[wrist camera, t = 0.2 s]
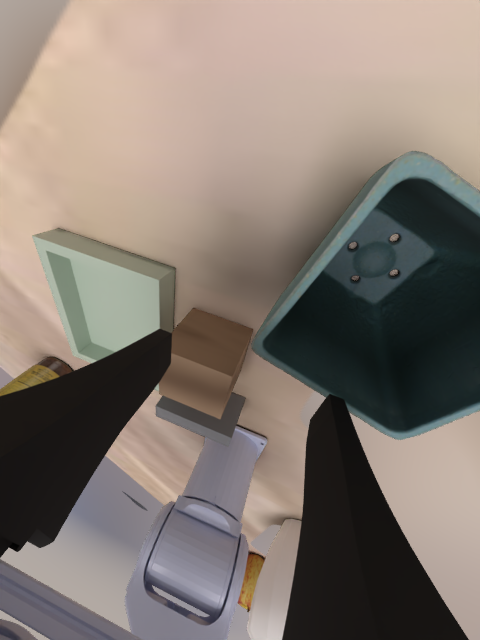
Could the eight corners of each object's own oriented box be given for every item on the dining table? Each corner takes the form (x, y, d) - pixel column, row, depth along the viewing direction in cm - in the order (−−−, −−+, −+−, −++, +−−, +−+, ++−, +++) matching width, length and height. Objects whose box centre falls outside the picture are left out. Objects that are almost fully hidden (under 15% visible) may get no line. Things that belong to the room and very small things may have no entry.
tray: (171, 376, 30) (160, 391, 28) (89, 342, 31) (73, 355, 29) (175, 268, 21) (159, 280, 19) (58, 228, 22) (32, 235, 20)
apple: (237, 544, 64) (224, 599, 56) (270, 556, 61) (261, 615, 53) (245, 556, 69) (234, 608, 61) (276, 567, 65) (268, 624, 58)
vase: (360, 553, 43) (384, 891, 23) (291, 542, 51) (266, 788, 31) (320, 512, 38) (309, 884, 19) (252, 507, 46) (194, 767, 27)
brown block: (240, 370, 26) (220, 419, 21) (189, 350, 26) (159, 393, 22) (253, 328, 22) (232, 376, 17) (193, 307, 23) (158, 347, 18)
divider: (242, 407, 29) (228, 447, 25) (178, 381, 30) (156, 415, 26) (245, 398, 28) (231, 438, 24) (179, 371, 29) (155, 405, 25)
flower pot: (278, 274, 18) (245, 350, 11) (367, 146, 13) (411, 140, 6) (373, 334, 19) (399, 445, 12) (500, 236, 13) (693, 333, 6)
